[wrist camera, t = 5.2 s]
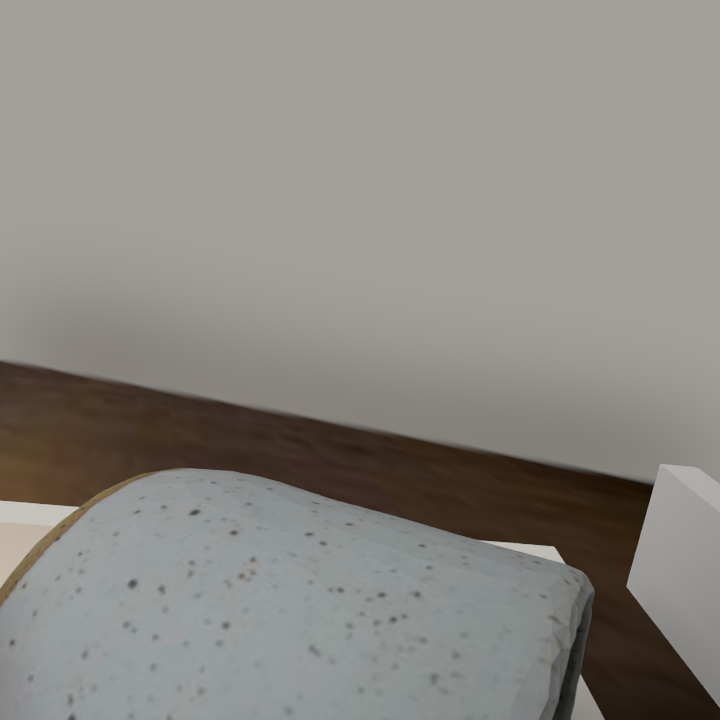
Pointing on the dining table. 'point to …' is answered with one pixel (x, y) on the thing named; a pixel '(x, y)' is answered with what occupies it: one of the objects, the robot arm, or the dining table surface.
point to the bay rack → (33, 521)
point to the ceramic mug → (280, 613)
